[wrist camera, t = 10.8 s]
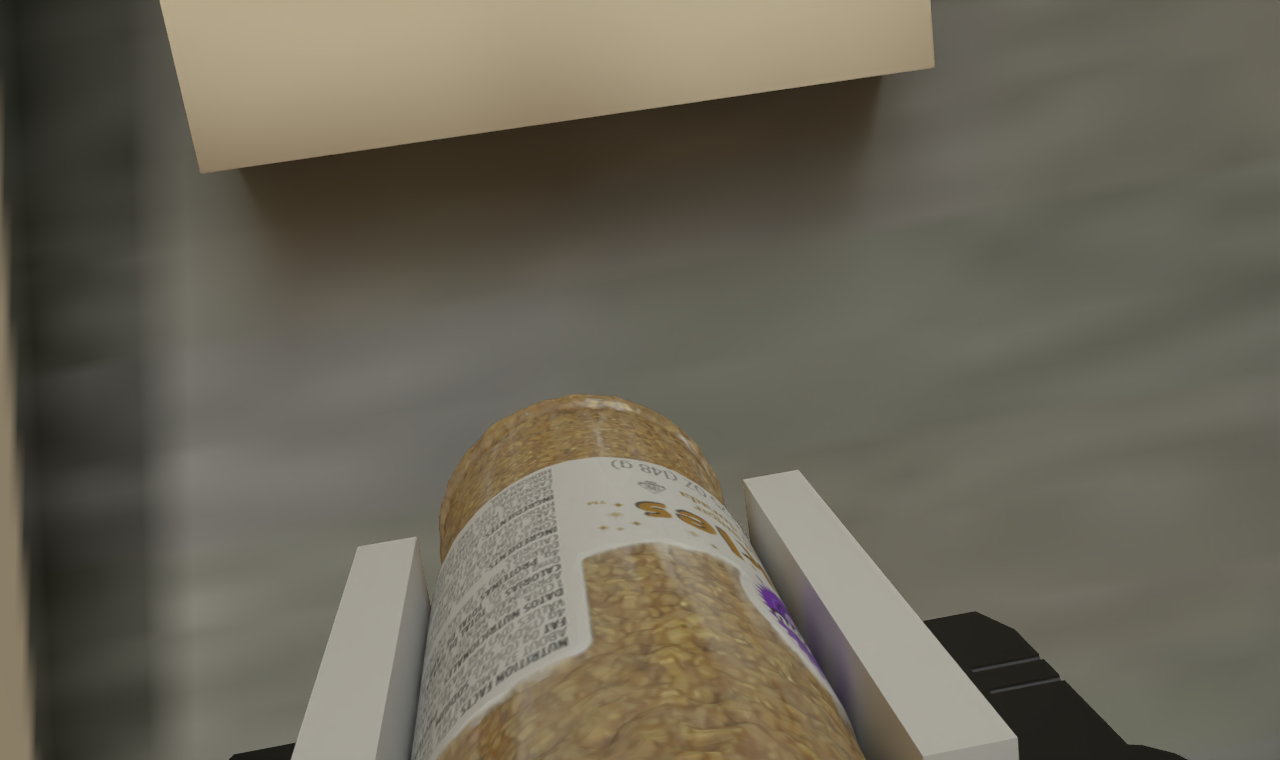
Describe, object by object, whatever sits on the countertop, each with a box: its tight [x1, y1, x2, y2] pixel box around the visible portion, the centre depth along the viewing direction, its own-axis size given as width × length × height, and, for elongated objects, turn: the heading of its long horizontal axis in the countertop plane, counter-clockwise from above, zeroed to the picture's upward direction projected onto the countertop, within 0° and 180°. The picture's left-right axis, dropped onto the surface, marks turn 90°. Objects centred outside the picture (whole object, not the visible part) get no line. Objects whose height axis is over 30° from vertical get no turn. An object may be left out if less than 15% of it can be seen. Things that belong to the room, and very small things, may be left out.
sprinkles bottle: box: [411, 394, 866, 760], centre depth 11 cm, size 5×5×14 cm
